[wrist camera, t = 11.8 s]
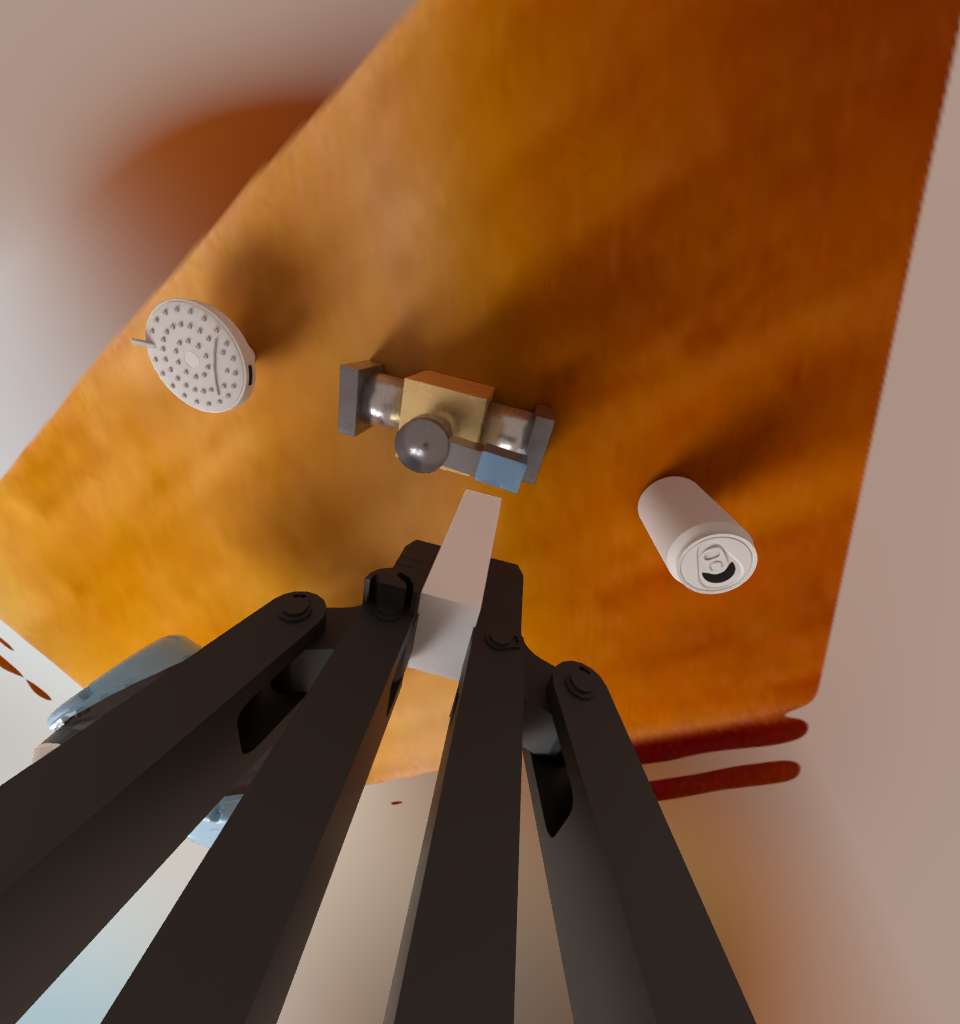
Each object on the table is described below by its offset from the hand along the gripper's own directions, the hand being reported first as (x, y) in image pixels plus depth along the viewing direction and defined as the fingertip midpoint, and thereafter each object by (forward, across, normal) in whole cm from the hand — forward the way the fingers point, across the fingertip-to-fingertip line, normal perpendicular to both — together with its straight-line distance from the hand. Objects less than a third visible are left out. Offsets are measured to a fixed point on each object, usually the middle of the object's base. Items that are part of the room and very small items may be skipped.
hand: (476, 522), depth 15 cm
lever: (+14, -3, -2) cm, 15 cm away
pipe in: (+24, -12, -2) cm, 27 cm away
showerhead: (+25, -29, -1) cm, 38 cm away
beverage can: (+25, +19, -5) cm, 31 cm away
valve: (+24, -6, -2) cm, 25 cm away
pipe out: (+24, +1, -2) cm, 24 cm away
